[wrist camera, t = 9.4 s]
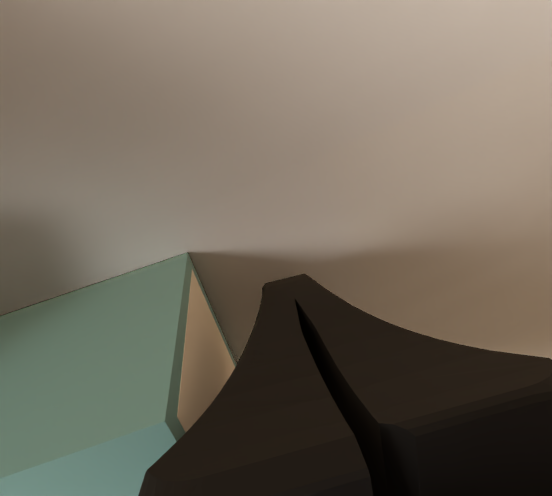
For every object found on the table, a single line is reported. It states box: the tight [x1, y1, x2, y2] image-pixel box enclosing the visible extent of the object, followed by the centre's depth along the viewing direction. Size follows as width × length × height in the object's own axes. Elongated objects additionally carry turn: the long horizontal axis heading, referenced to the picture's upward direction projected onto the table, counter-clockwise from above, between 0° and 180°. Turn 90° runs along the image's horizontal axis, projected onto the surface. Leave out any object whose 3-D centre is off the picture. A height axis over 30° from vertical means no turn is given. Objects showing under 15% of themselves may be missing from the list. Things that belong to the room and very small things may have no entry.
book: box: [0, 253, 237, 496], centre depth 9 cm, size 4×8×6 cm, turn 107°
